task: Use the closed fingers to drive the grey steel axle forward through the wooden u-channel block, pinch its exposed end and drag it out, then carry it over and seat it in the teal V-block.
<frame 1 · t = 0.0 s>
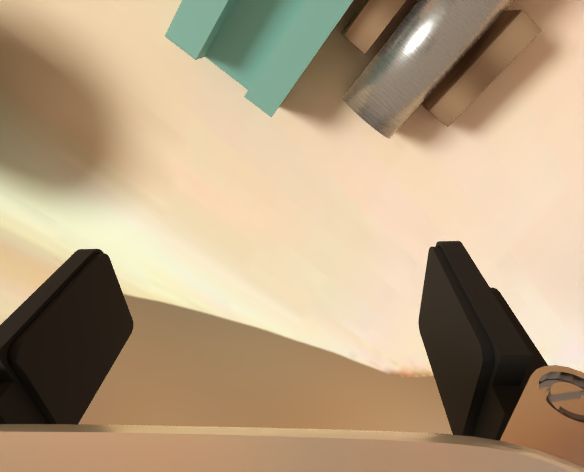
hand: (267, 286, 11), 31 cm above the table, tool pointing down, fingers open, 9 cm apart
wooden u-channel block: (430, 31, 34), on the table
steel axle: (438, 32, 32), point 3 cm above the table
teal V-block: (271, 4, 34), on the table
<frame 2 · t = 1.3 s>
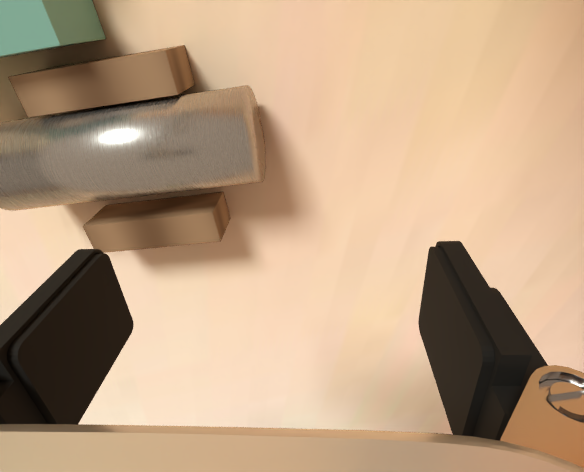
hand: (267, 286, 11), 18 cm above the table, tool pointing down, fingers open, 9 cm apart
wooden u-channel block: (146, 150, 28), on the table
steel axle: (125, 152, 25), point 3 cm above the table, tilted 16°
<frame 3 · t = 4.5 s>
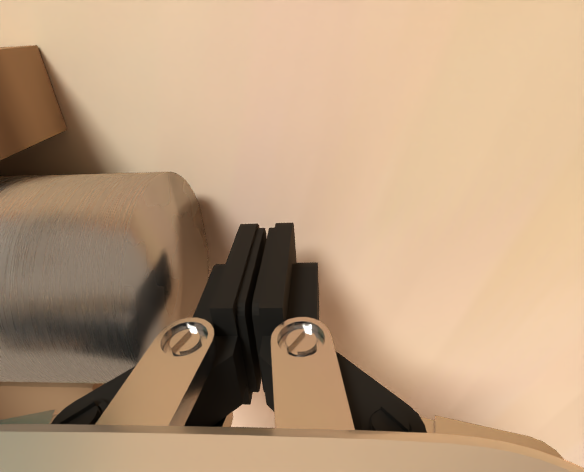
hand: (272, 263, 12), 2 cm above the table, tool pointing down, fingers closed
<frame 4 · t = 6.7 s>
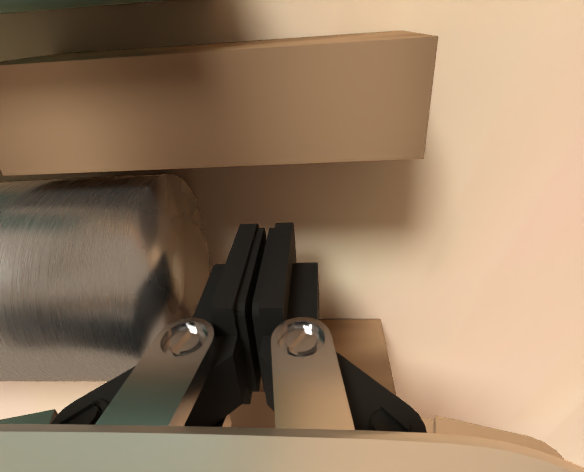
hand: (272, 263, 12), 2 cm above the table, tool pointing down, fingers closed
wooden u-channel block: (248, 238, 14), on the table
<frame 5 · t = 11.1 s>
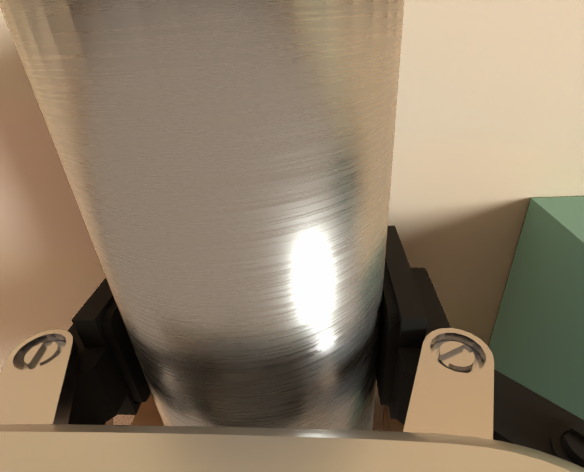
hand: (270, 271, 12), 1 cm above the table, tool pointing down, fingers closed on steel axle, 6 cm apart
wooden u-channel block: (296, 462, 18), on the table
steel axle: (266, 358, 10), point 3 cm above the table, touching gripper
when the fingers open (6 cm above the table, at t = 17.9 s): steel axle drops 2 cm, resting on teal V-block.
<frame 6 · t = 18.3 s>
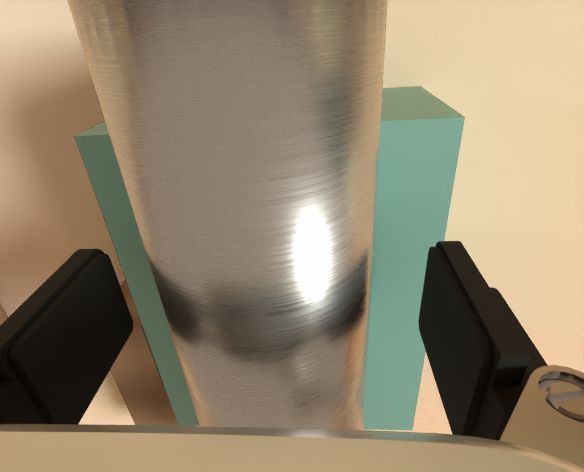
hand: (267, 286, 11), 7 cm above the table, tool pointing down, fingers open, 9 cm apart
wooden u-channel block: (86, 346, 23), on the table
steel axle: (273, 324, 12), point 7 cm above the table, tilted 6°, touching teal V-block
teal V-block: (289, 244, 18), on the table
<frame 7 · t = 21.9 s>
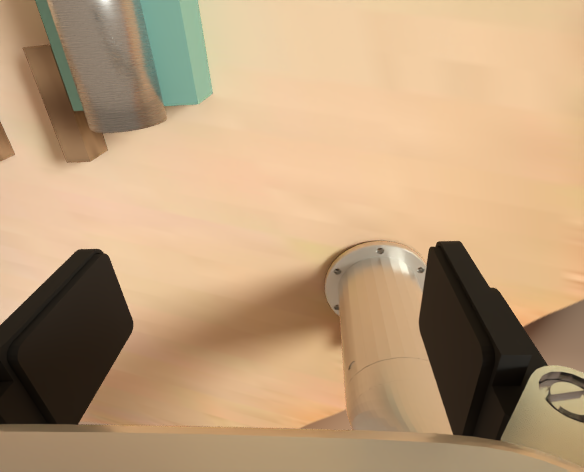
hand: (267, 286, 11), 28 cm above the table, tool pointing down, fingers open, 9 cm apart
wooden u-channel block: (30, 103, 37), on the table
teal V-block: (137, 12, 32), on the table
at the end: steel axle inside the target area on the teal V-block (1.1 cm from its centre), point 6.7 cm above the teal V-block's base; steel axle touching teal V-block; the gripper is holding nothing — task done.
